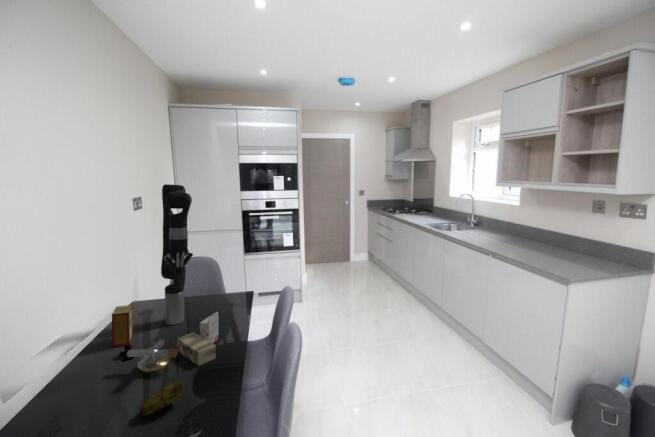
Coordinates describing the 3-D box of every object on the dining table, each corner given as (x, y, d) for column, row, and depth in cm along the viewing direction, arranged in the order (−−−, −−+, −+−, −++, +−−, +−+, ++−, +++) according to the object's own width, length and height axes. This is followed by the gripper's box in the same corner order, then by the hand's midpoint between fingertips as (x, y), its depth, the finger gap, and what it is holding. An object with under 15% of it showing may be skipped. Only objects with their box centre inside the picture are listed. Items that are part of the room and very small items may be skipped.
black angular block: (140, 360, 131) (139, 350, 130) (119, 366, 126) (119, 355, 125) (134, 348, 140) (134, 338, 139) (115, 353, 135) (115, 343, 134)
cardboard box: (174, 351, 137) (174, 339, 137) (193, 344, 145) (194, 332, 144) (196, 367, 127) (196, 353, 126) (215, 358, 134) (215, 345, 133)
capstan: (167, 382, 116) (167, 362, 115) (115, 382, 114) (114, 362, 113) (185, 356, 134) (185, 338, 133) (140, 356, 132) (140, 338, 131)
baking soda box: (129, 344, 141) (128, 311, 140) (112, 347, 139) (111, 313, 137) (132, 335, 150) (132, 304, 148) (116, 337, 147) (116, 305, 145)
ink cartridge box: (209, 337, 151) (210, 309, 150) (218, 339, 150) (219, 310, 149) (199, 346, 143) (199, 316, 141) (208, 348, 142) (208, 318, 140)
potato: (142, 404, 104) (142, 382, 103) (183, 395, 110) (183, 375, 109) (138, 421, 97) (138, 398, 96) (183, 411, 102) (183, 389, 101)
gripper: (167, 240, 128) (167, 279, 130) (196, 237, 138) (196, 273, 140) (159, 237, 132) (159, 276, 134) (188, 234, 143) (188, 270, 145)
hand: (178, 274), depth 137 cm, fingers closed
